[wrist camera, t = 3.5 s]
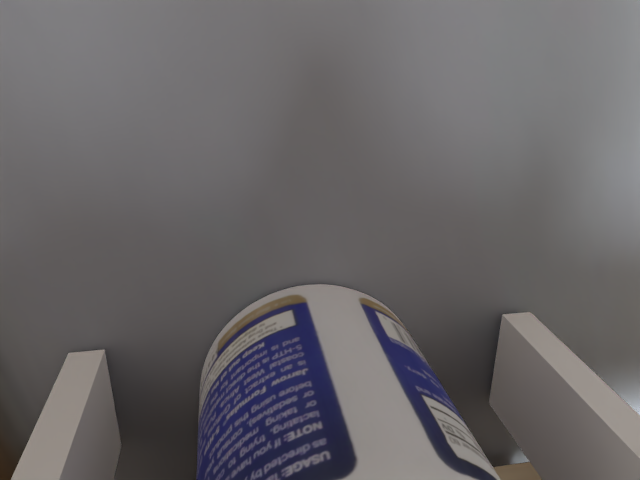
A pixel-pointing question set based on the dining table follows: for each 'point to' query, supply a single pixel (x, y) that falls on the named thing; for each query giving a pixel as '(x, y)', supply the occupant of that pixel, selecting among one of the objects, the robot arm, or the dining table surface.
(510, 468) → the door
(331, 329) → the pill bottle
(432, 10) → the dining table surface
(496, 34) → the dining table surface
